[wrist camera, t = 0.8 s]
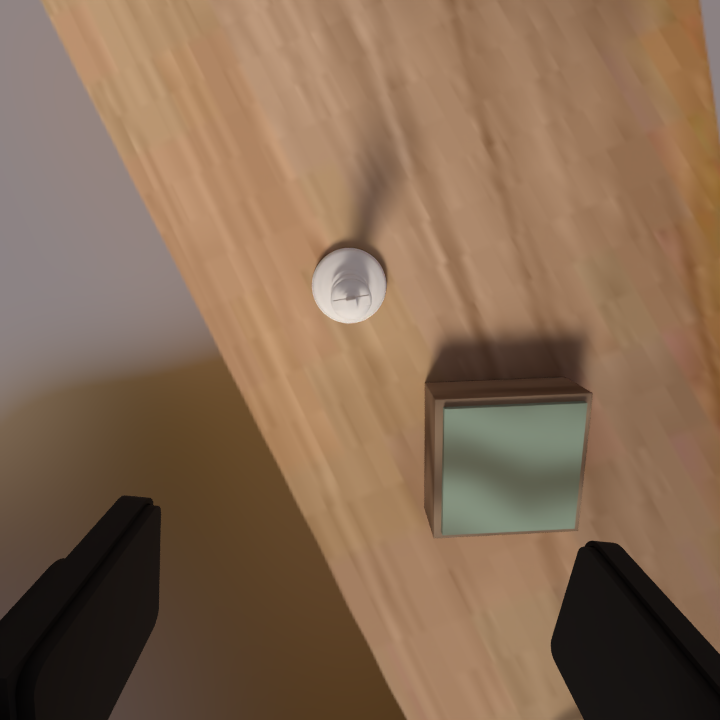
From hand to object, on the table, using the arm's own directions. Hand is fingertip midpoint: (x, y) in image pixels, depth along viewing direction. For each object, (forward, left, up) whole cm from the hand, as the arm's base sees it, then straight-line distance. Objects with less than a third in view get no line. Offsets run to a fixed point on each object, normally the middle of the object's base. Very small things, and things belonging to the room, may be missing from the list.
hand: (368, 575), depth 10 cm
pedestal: (+6, +11, -21) cm, 24 cm away
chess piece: (-4, -1, -21) cm, 22 cm away
